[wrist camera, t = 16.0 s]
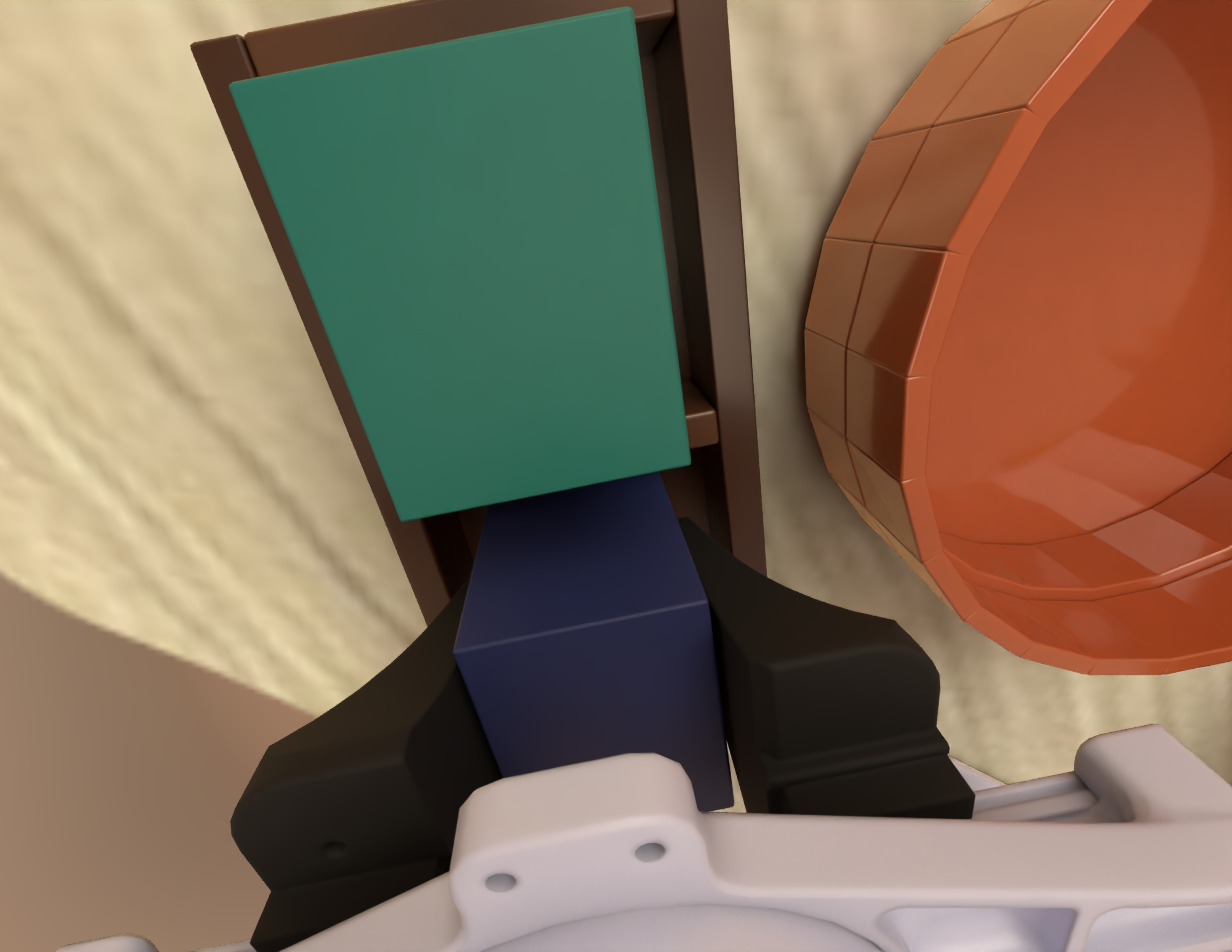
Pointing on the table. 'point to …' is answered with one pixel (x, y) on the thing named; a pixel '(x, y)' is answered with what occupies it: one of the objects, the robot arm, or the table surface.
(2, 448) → the table surface
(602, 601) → the dark blue rectangular block
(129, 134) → the table surface
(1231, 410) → the bowl
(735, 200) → the holder
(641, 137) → the green rectangular block
